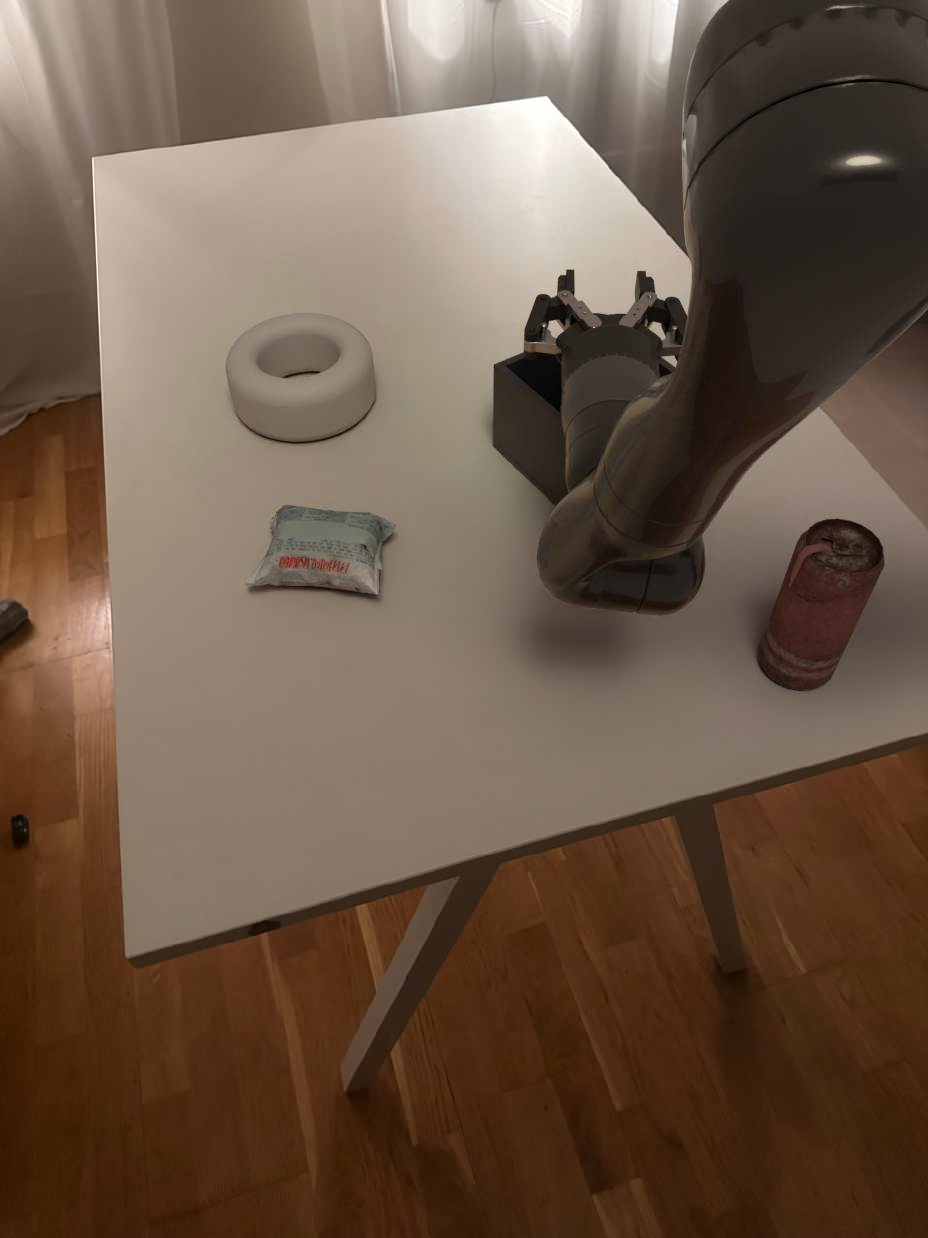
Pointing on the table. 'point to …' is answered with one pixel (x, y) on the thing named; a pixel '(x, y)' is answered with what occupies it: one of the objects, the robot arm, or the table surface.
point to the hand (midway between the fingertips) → (604, 279)
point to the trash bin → (534, 419)
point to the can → (820, 602)
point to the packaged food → (323, 550)
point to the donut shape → (304, 401)
